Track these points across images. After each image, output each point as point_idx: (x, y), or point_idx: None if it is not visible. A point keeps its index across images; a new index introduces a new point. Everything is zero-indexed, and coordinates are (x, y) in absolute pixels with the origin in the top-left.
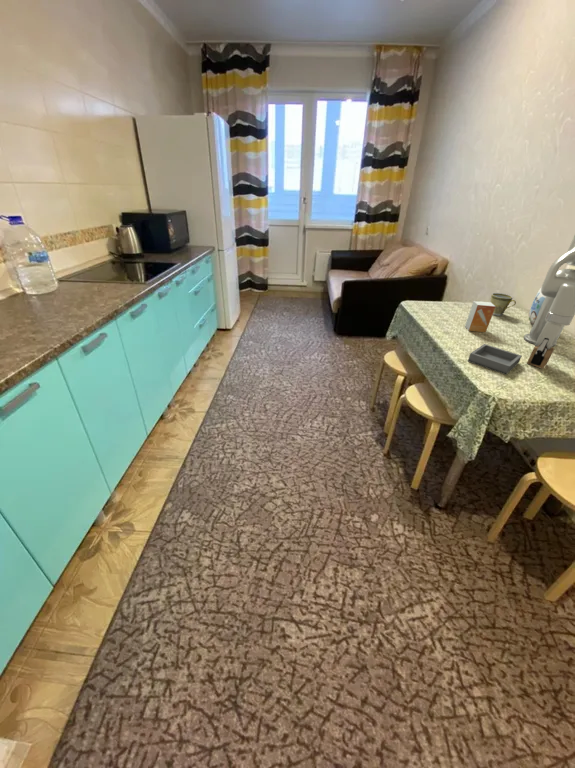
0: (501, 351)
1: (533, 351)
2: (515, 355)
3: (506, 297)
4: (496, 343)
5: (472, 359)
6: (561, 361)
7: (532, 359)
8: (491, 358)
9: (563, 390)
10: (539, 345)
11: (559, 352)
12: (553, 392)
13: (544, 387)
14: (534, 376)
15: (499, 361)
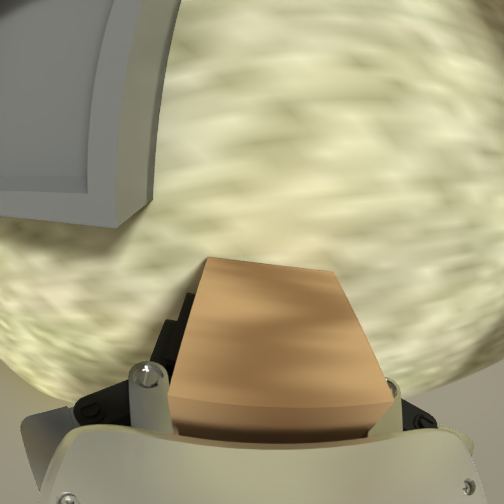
0: (117, 13)
1: (182, 357)
2: (92, 164)
3: None
4: (476, 25)
5: None
6: (399, 385)
7: (180, 315)
8: (57, 24)
9: (61, 391)
10: (326, 423)
11: (490, 348)
12: (19, 362)
13: (17, 342)
14: (56, 313)
15: (39, 86)
